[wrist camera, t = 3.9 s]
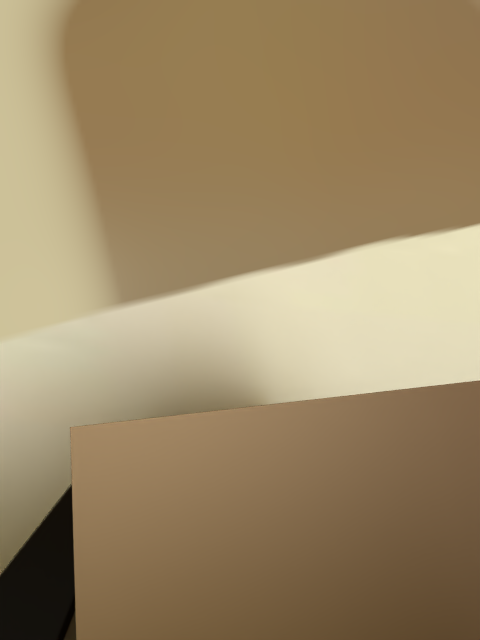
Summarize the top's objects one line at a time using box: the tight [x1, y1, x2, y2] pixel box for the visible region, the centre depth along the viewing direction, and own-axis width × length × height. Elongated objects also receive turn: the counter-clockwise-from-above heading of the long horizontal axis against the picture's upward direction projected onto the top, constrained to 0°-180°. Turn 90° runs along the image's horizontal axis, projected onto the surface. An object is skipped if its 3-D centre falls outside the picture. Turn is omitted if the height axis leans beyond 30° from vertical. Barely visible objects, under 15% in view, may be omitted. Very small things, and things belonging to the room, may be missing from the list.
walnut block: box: [70, 381, 480, 640], centre depth 9 cm, size 4×4×12 cm
